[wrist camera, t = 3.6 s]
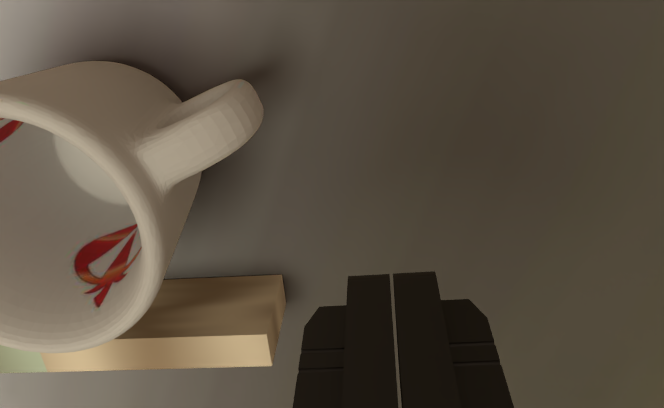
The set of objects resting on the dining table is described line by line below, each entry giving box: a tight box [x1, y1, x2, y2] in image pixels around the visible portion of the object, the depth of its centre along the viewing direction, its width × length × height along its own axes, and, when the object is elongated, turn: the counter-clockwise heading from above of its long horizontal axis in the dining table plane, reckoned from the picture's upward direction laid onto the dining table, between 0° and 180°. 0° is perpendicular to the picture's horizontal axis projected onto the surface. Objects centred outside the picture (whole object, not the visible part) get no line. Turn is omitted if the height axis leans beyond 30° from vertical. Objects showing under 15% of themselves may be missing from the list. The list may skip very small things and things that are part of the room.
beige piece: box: [0, 275, 286, 373], centre depth 21 cm, size 18×17×5 cm
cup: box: [0, 61, 264, 353], centre depth 19 cm, size 11×8×8 cm
